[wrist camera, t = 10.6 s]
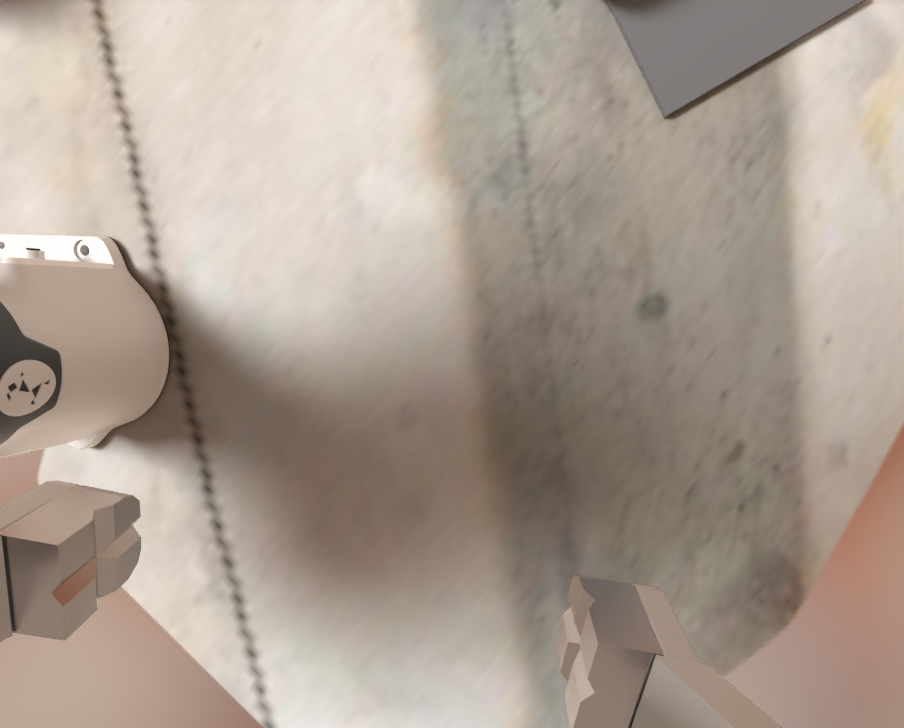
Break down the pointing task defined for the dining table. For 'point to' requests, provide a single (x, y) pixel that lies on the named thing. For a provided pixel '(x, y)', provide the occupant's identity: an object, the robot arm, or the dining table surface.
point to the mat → (712, 39)
